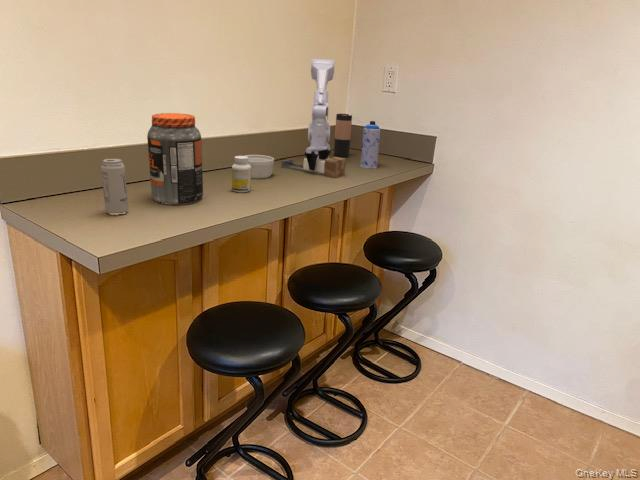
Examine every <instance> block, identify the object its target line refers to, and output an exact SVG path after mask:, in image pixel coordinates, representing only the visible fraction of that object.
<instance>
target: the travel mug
mask: <svg viewBox="0 0 640 480" xmlns="http://www.w3.org/2000/svg"><path fill="white" fill-rule="evenodd" d="M352 120H353V115H352V114H351V115H349V114H348V113H336V116H335V127H334V130H335V132H334V141H333V142H334V147H333V149H334V150H333V157H340V158H345V159H347V158H349V156H350V154H349V153H350V147H351V138H352V136H351V135H352Z"/></svg>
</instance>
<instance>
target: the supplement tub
mask: <svg viewBox="0 0 640 480" xmlns="http://www.w3.org/2000/svg"><path fill="white" fill-rule="evenodd" d="M146 135H147V137H146V138H147V139H146V140H147V151H148V152H147V153H148V162H149V165H148V166H149V178H150V188H151V189H150V191H151V198H152V199H153V200H154V201H155V200H156V202H157V201H158V203H160V202H161V203H160V204H164V203H167V204H166V205H170V204H182V205H188V204H192V202H193V203H195V202H199V201H200V200H201V199H202V198H203V196H204V182H203V181H204V179H203V178H204V177H203V150H202V149H203V148H202V134H201V132H200V130H199V128H197V127H196V117H195V115H194V114H189V113H177V112H173V113H172V112H162V113H155V114H152V115H151V126H150V128H149V129H148V132H147V134H146ZM187 203H188V204H187Z"/></svg>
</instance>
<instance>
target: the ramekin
mask: <svg viewBox="0 0 640 480" xmlns="http://www.w3.org/2000/svg"><path fill="white" fill-rule="evenodd" d="M245 156H247V157H248V164H249V165H250V166H251V179H256V180H257V179H267V178H270V177H271V175H272V174H273V169H274V163H275V158H274V157H272V156H269V155H263V154H248V155H247V154H245Z"/></svg>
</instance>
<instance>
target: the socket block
mask: <svg viewBox="0 0 640 480" xmlns="http://www.w3.org/2000/svg"><path fill="white" fill-rule="evenodd" d="M346 159H347V158H340V157H335V156H332V157H330V158H328V159H325V164H324V176H323V177H327V178H332V179H336V178H339V177H343V176H345V171H346Z"/></svg>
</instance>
